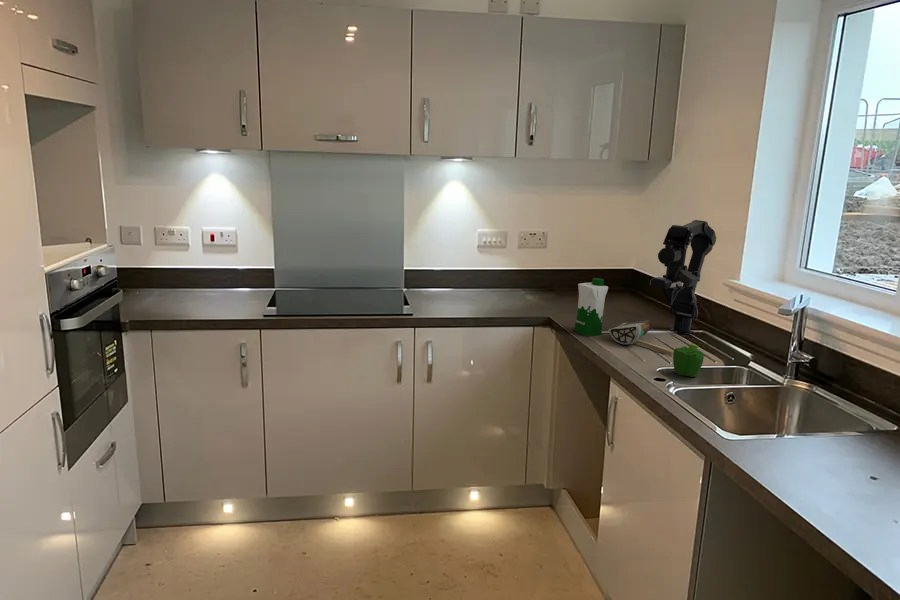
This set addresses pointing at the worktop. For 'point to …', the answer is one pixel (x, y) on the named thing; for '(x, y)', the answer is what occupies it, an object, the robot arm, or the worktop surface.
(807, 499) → the worktop surface
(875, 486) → the worktop surface
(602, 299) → the milk carton
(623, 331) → the food container
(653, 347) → the oak strip
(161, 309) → the worktop surface
